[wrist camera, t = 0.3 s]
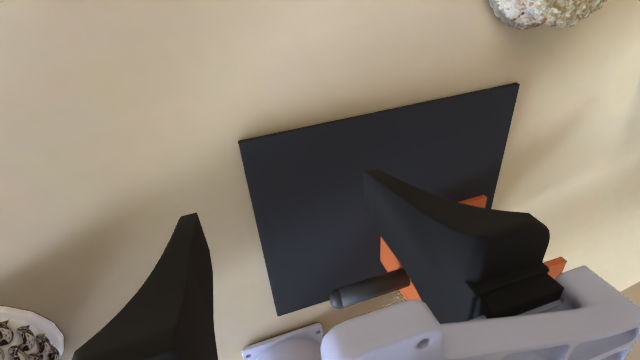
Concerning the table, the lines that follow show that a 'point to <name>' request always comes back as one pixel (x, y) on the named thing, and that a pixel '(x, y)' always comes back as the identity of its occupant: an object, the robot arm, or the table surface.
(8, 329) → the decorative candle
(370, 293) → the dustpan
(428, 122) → the mat
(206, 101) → the table surface
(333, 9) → the table surface
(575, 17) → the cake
